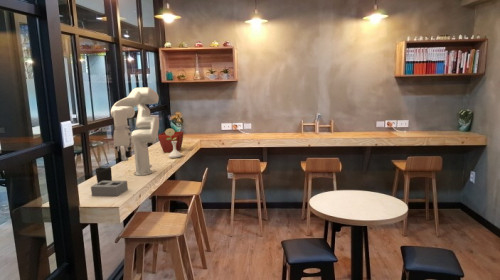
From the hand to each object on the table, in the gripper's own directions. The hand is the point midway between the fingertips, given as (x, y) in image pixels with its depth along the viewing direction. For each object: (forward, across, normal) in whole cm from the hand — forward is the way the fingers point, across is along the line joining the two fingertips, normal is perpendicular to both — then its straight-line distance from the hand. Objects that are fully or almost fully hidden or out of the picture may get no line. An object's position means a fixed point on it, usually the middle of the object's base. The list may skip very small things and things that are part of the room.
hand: (124, 156), depth 211 cm
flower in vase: (+20, -1, -76) cm, 79 cm away
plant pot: (+20, +10, -101) cm, 104 cm away
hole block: (+19, +4, +13) cm, 23 cm away
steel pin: (+2, 0, 0) cm, 2 cm away
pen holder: (+19, +18, -4) cm, 26 cm away
